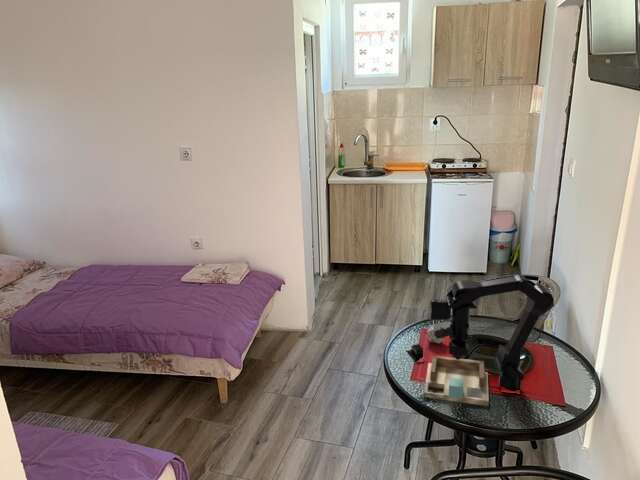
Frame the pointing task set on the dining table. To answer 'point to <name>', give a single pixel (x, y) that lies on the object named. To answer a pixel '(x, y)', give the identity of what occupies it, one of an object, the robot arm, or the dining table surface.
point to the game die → (431, 335)
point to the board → (470, 385)
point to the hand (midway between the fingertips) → (457, 358)
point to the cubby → (458, 366)
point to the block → (456, 388)
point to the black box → (416, 352)
